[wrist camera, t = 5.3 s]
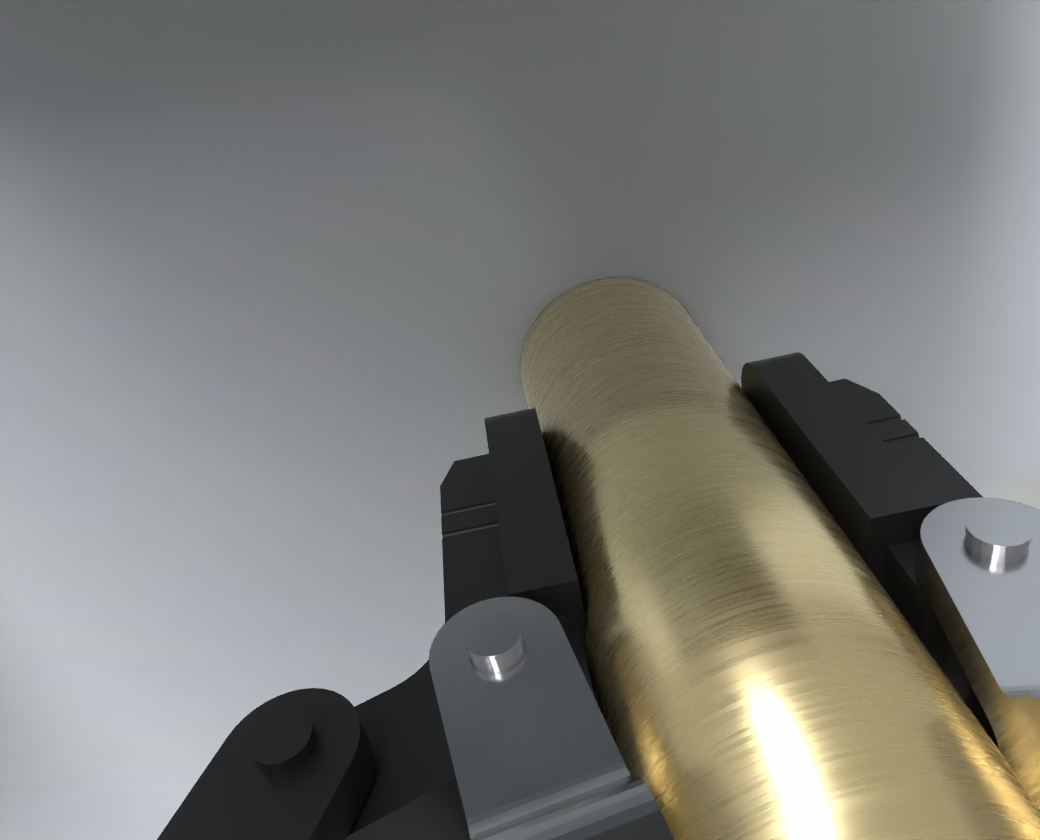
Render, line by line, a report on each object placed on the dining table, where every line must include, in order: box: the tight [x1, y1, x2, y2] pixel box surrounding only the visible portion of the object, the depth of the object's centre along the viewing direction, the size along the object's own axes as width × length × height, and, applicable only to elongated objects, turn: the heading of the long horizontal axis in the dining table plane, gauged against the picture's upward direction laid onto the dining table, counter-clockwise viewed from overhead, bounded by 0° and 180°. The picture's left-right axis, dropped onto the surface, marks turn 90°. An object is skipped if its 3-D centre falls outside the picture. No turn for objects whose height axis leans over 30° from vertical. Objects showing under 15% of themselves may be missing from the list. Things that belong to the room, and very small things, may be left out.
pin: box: [520, 278, 1040, 840], centre depth 8 cm, size 4×4×12 cm
